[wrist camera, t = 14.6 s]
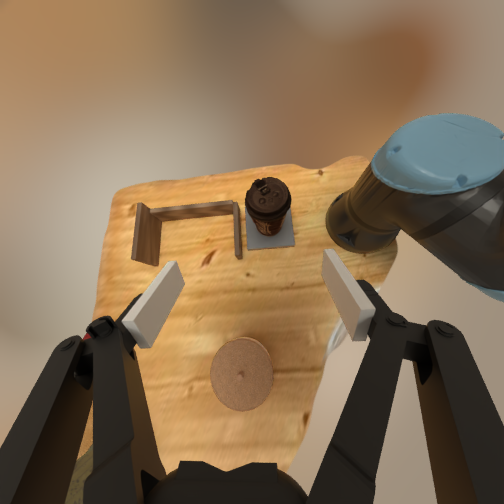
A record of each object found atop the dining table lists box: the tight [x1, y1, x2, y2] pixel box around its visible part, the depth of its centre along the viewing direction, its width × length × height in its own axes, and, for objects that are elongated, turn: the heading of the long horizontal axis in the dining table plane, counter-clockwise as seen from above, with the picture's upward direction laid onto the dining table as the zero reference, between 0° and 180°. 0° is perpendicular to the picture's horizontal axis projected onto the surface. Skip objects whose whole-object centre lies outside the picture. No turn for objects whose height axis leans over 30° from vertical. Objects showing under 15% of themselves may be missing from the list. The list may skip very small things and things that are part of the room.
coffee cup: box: [245, 177, 291, 237], centre depth 38 cm, size 9×8×13 cm
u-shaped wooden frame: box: [131, 200, 242, 266], centre depth 43 cm, size 22×13×8 cm, turn 93°
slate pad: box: [245, 207, 295, 251], centre depth 45 cm, size 11×11×1 cm
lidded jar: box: [210, 337, 273, 411], centre depth 34 cm, size 11×11×9 cm
